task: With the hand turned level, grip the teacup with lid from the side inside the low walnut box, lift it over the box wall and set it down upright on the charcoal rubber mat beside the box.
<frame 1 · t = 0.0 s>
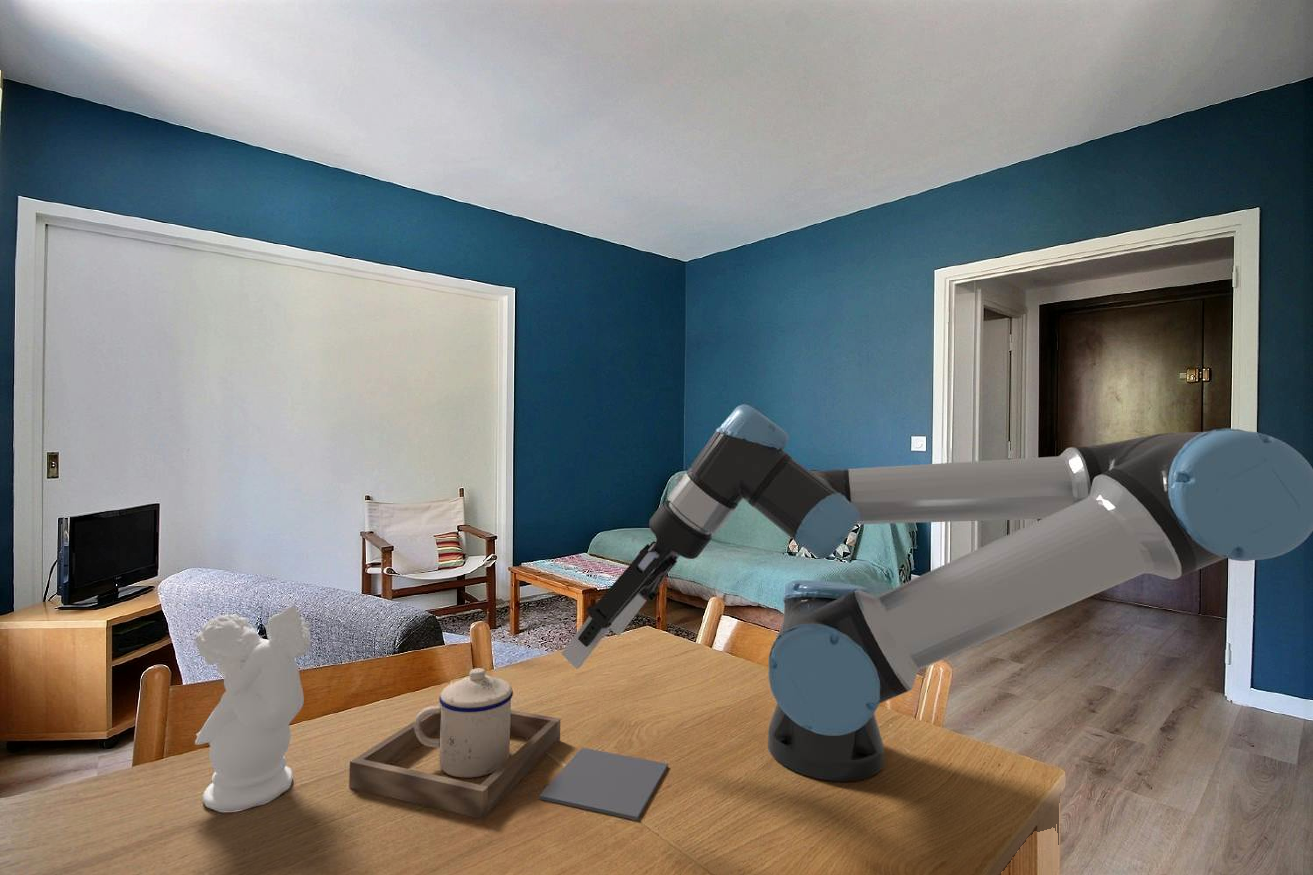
hand: (592, 643, 80), 15 cm above the table, tool tilted 35°, fingers open, 13 cm apart
teacup with lid: (462, 763, 79), resting in walnut box
charcoal mat: (606, 781, 75), on the table
walnut box: (463, 761, 79), on the table
cherub figurine: (264, 783, 73), on the table
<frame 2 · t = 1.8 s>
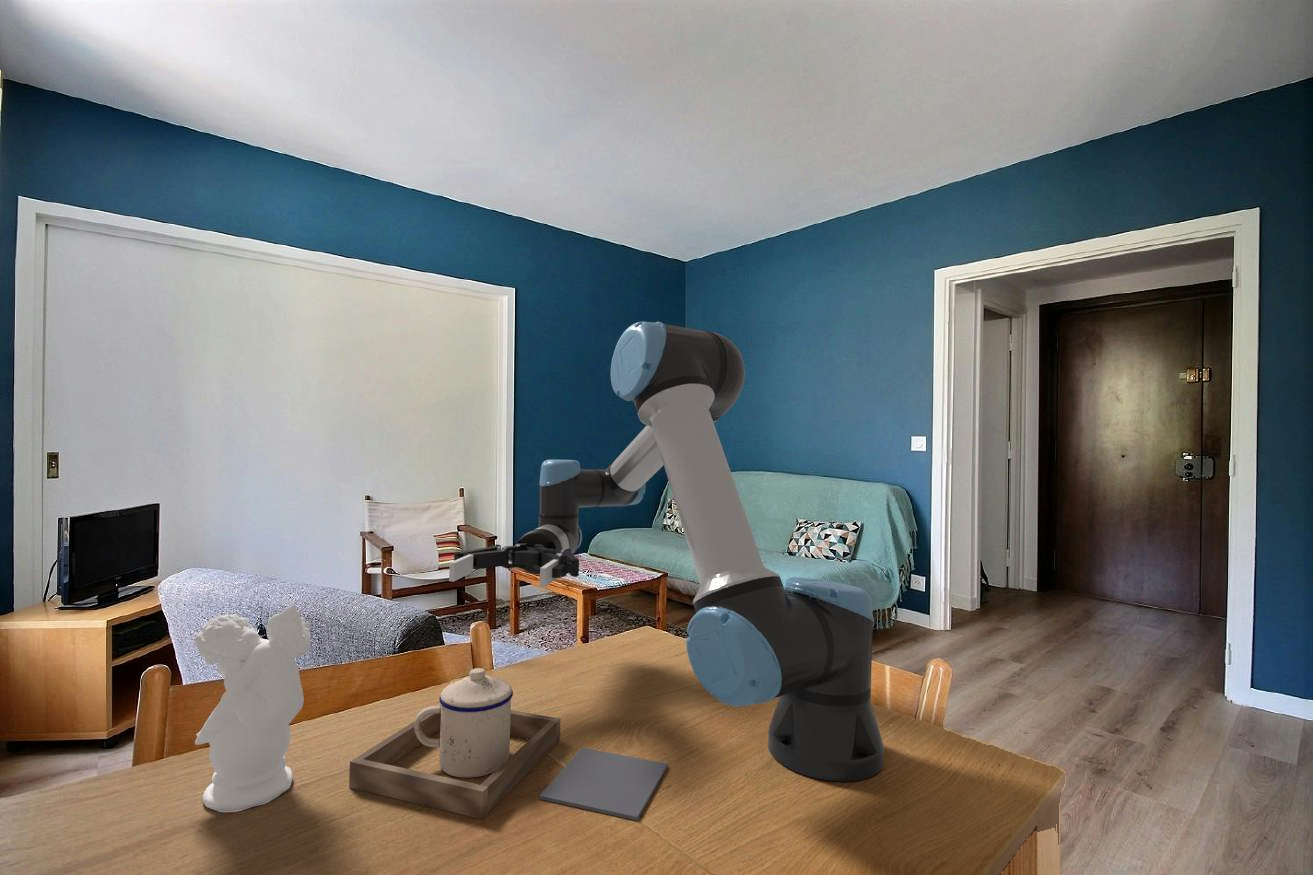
hand: (496, 574, 89), 22 cm above the table, tool horizontal, fingers open, 13 cm apart
nothing on the table moved.
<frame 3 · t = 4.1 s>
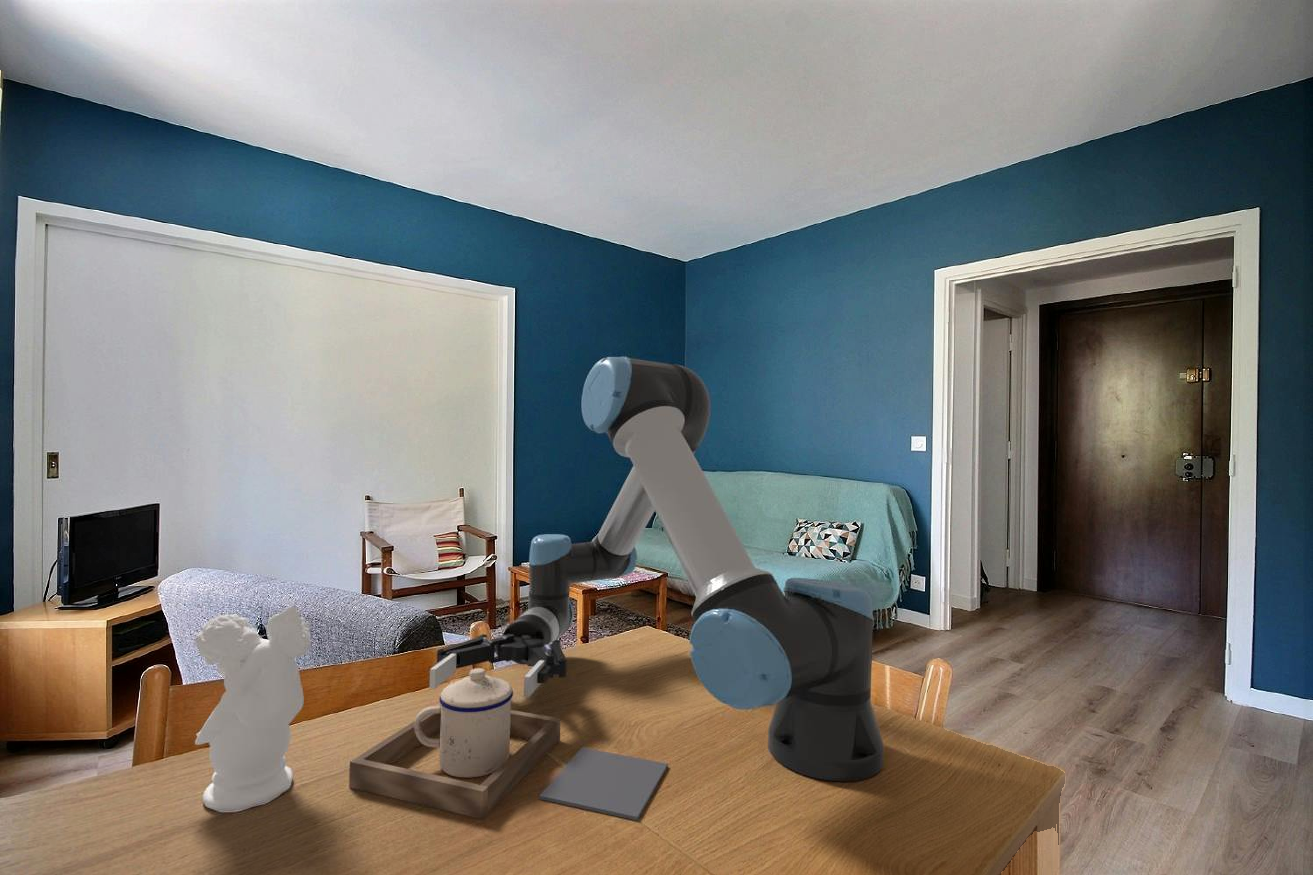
hand: (478, 682, 85), 8 cm above the table, tool horizontal, fingers open, 13 cm apart
nothing on the table moved.
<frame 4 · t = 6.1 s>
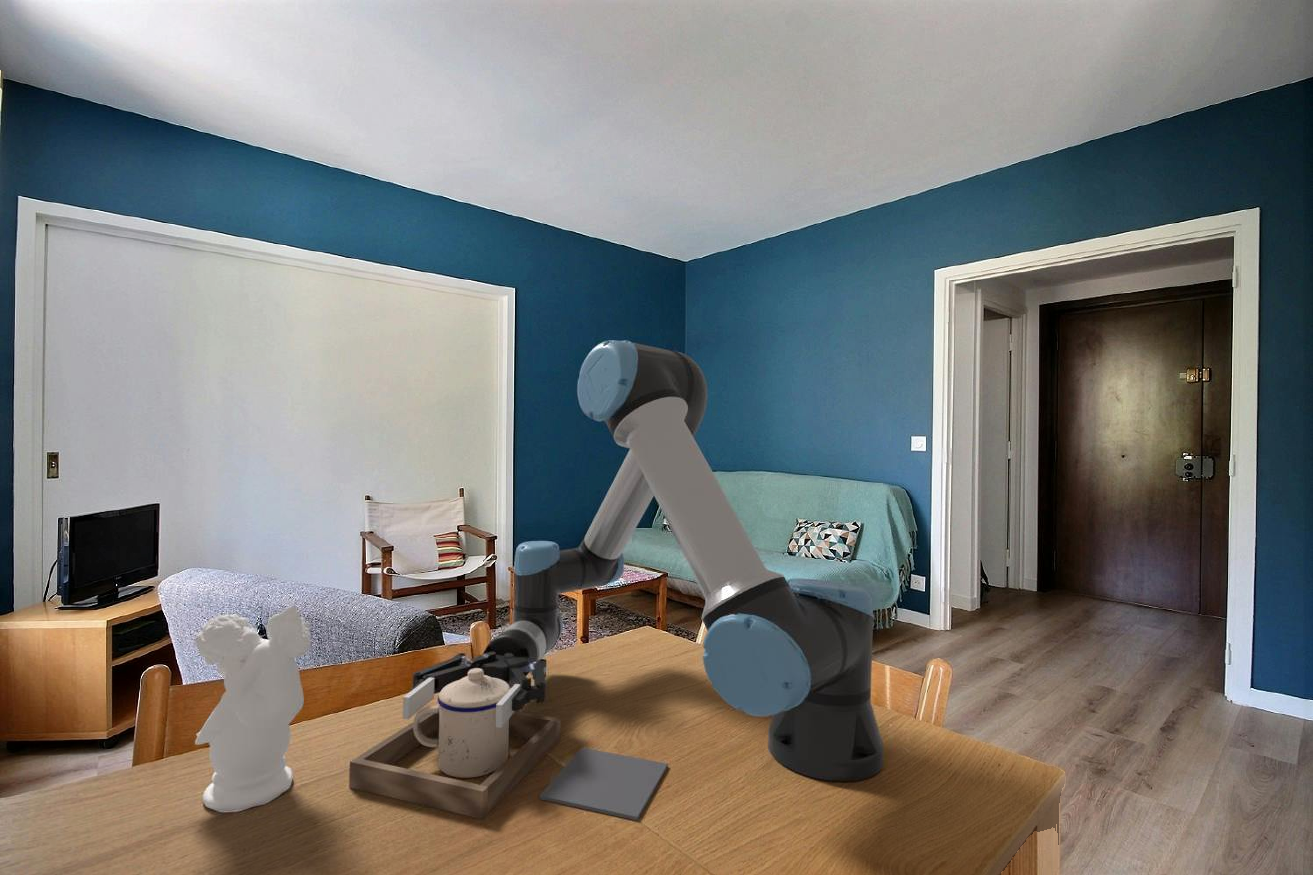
hand: (451, 712, 75), 8 cm above the table, tool horizontal, fingers closed on teacup with lid, 11 cm apart
teacup with lid: (461, 763, 79), resting in walnut box, touching gripper
everything else where it was.
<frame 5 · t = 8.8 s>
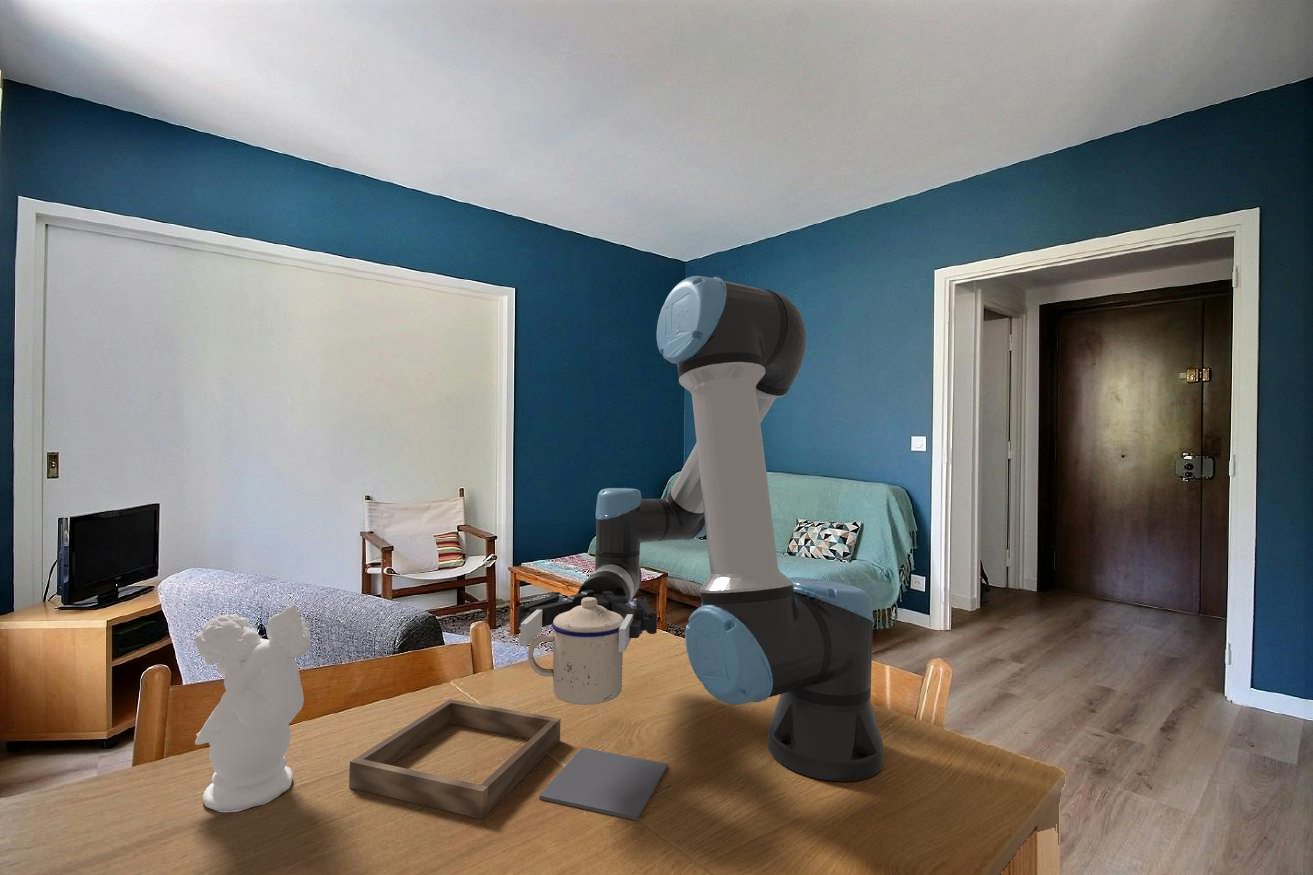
hand: (572, 637, 73), 18 cm above the table, tool horizontal, fingers closed on teacup with lid, 11 cm apart
teacup with lid: (575, 694, 77), point 10 cm above the table, touching gripper
everything else where it was.
when the fingers open (10 cm above the table, at t = 11.8 s): teacup with lid drops 1 cm, resting on charcoal mat.
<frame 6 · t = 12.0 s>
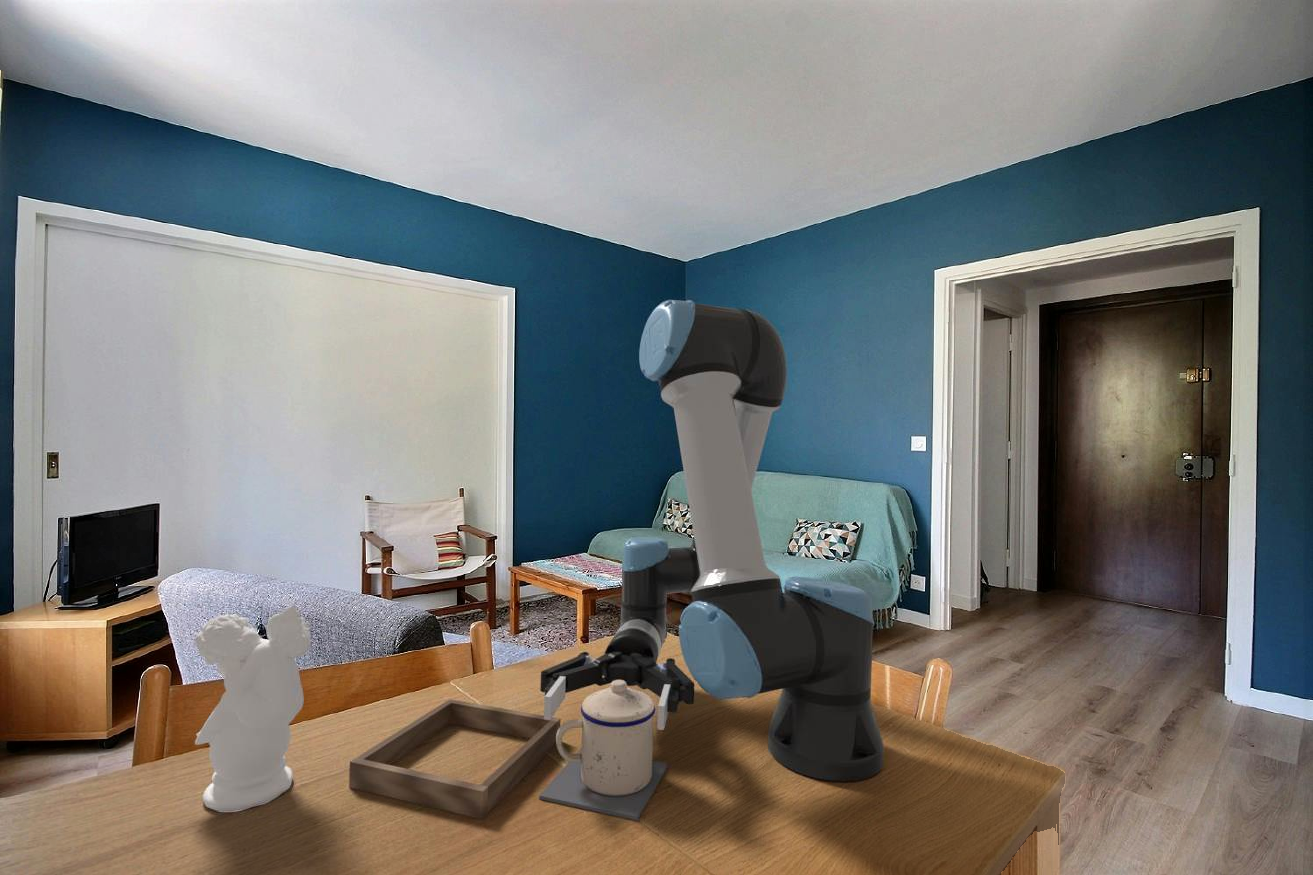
hand: (603, 713, 72), 10 cm above the table, tool horizontal, fingers open, 13 cm apart
teacup with lid: (604, 779, 75), resting on charcoal mat
everything else where it was.
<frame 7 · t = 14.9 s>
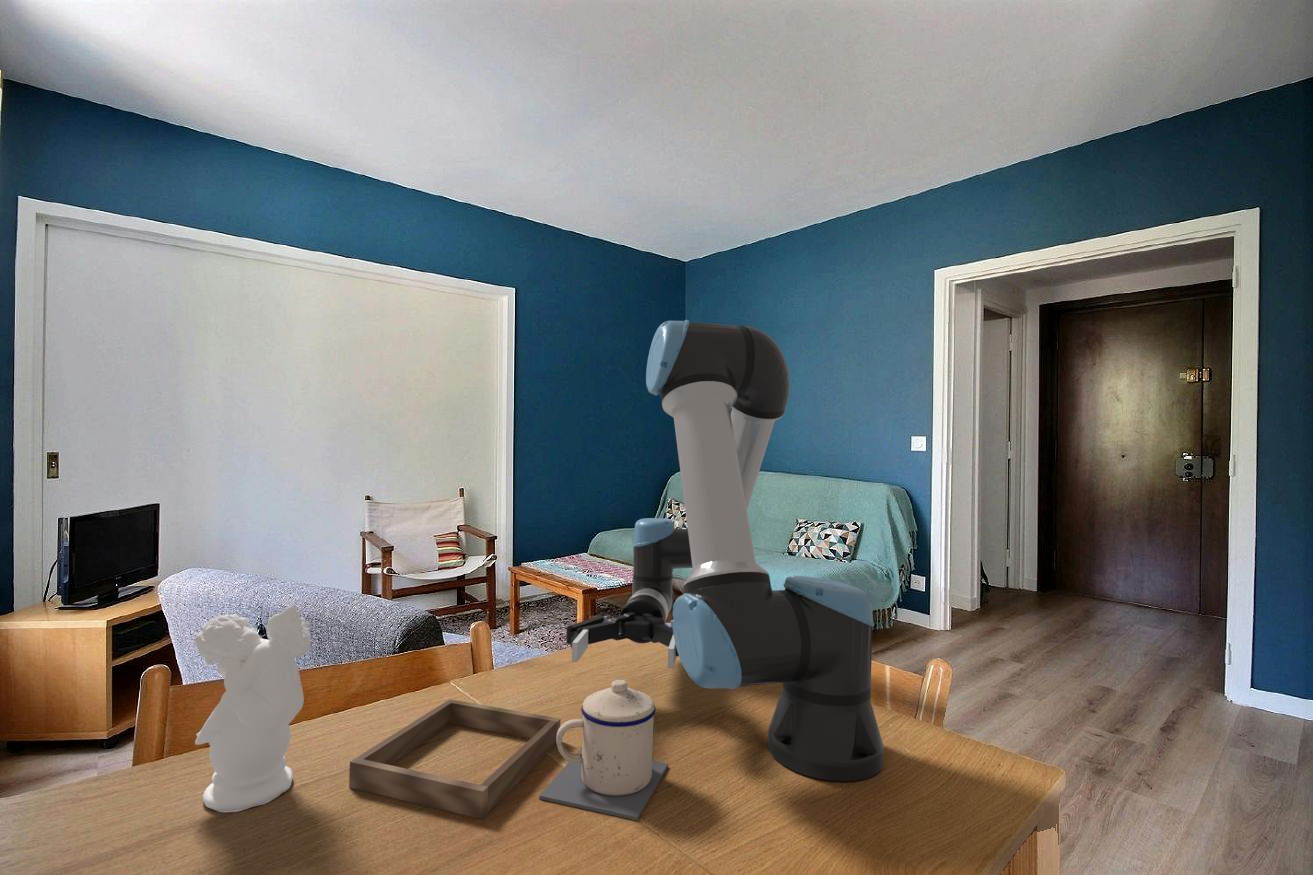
hand: (622, 655, 86), 12 cm above the table, tool horizontal, fingers open, 13 cm apart
nothing on the table moved.
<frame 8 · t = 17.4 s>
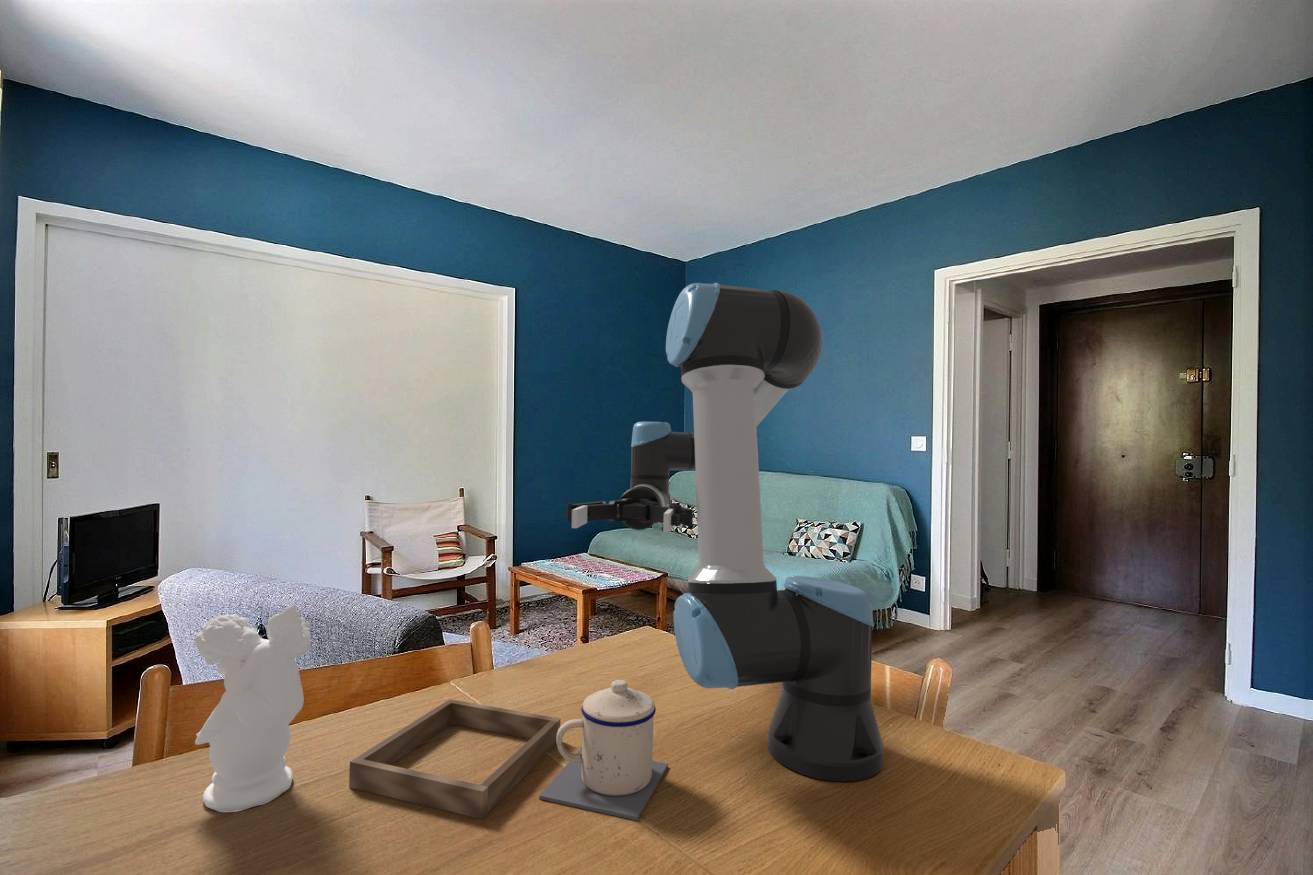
hand: (619, 521, 90), 30 cm above the table, tool horizontal, fingers open, 13 cm apart
nothing on the table moved.
at the end: teacup with lid inside the target area (0.3 cm from its centre), resting on charcoal mat; teacup with lid tilted 0°; the gripper is holding nothing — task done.
